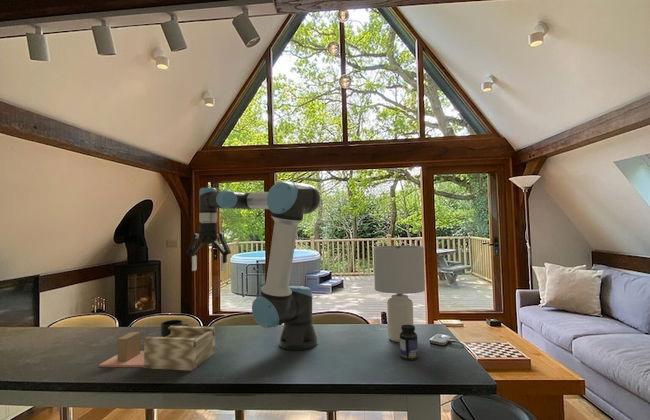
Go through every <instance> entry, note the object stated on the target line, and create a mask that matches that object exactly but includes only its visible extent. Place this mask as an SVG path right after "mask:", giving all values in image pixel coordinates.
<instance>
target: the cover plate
mask: <svg viewBox="0 0 650 420" xmlns="http://www.w3.org/2000/svg"><path fill="white" fill-rule="evenodd" d="M98 367H99V368H144V350H141V331H131V332H128V333H126V334H124V335H122V336H120V337H118V338H117V354H116V355H114V356H112V357H110V358H109V359H106V360H104V361H103V362H102V363H99V365H98Z"/></svg>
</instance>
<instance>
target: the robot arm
mask: <svg viewBox="0 0 650 420" xmlns="http://www.w3.org/2000/svg"><path fill="white" fill-rule="evenodd" d="M217 190H218V189H217V188H215V187H201V188H200V189H199V191H198V192H199V196H198V201H199V202H198V207H199V208H198V209H199V213H198V214H199V218H198V220H199V221H198V222H200V223H199V227H198V229H199V233H193V234H192V239H191V240H190V243H189V245H188V248H187V250H186V253H185V254H186V255H188V256H189V262H190V264H191V271H192V272H195V271H197V267H198V266H197V265H198V263H197V261H198V260H197V259H198V257H197V255H196V254H197V253H198V251H200V249H201V248H202V246H203V245H204V244H205V245H206V244H212V245H213V246H215V248H217V250H218V251H219V253H220V254H221V255H220V271H221V272H223V271H225V270H226V263H227V262H228V255H230V254H232V251H231V249H230V247H229V244H228V243H227V240H226V238H225V233H223V232H220V233H218V223H217V222H218V209H219V210H221V209H226V210H227V209H233V210H236V209H237V210H238V209H239V210H269V211H270V212H271V215H270V217H271V218H272V219H273V221H274V222H273V223H274V224H273V231H272V236H271V237H272V239H271V245H270V253H269V259H268V260H269V261H268V267H267V274H266V280H265V281H266V282H265V284H264V285H263V286H262V287H261V288H260V295H259V296H257V297H256V298H255V299H254V300H253V302H252V305H251V313H252V316H253V318H254V320H255V323H257V324H258V326H260V327H262V328H264V329H271V328H277V326H280V325H283V327H282V331H281V333H280V337H279V346H280V348H282V349H285V350H289V351H290V350H292V351H299V350H300V351H302V350H303V351H304V350H309V349H311V348H313V347H316V346H317V345H318V337H317V333H316V330H315V328H314V324H313V291H312V289H311V288H310V287H308V286H301V285H299V286H298V285H290V281H291V274H292V267H293V262H294V260H293V259H294V252H295V247H296V239H297V233H298V225H300V223H302V222H303V220H304V215H308V214H312V213H313V212H315V211H316V210H317V209H318V207H319V206H320V203H321V195H320V192H319V191H318V189H317V188H316V187H315V186H313V185H312V184H310V183H302V182H301V183H300V182H295V181H288V180H286V181H284V180H283V181H278V182H276V183H274V185H272V186H271V187H270V188H269V191H260V192H258V191H256V192H241V191H240V192H238V191H233V190H226V189H225V190H220V191H217ZM217 238H218V239H219V241H220V242H219V241H218V239H217ZM198 239H199V241H198ZM220 243H221V244H220Z"/></svg>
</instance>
